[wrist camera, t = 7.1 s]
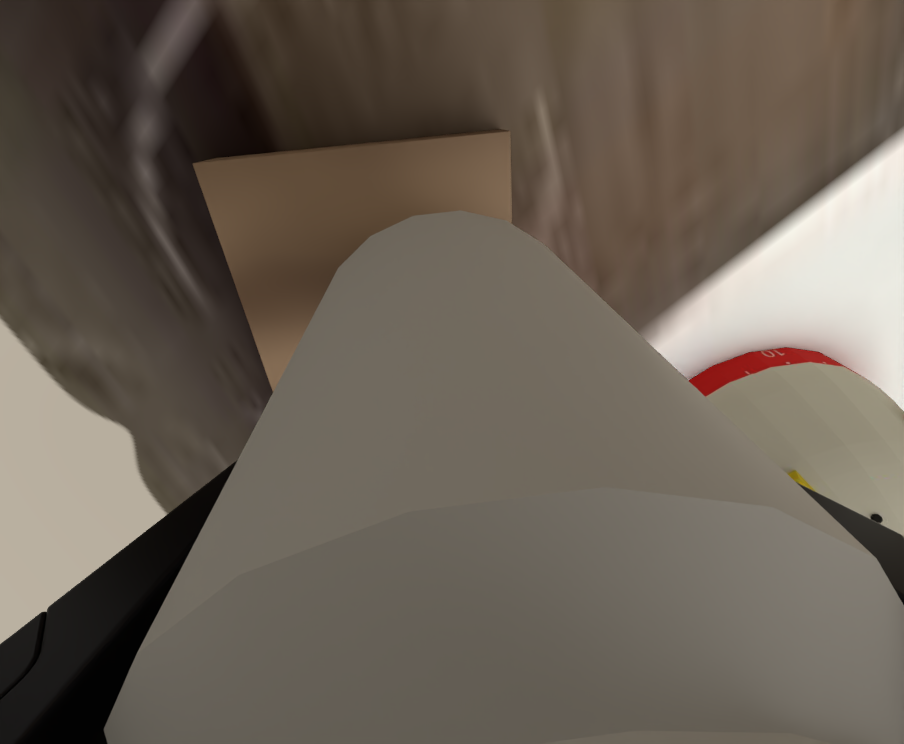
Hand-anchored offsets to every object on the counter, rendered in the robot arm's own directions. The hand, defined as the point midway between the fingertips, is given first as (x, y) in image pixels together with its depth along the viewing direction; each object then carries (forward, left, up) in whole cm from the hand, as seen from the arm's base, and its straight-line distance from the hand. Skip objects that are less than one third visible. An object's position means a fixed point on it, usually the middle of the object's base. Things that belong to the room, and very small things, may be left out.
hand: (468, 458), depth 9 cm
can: (0, 0, -6) cm, 6 cm away
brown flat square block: (-1, +2, -13) cm, 14 cm away
